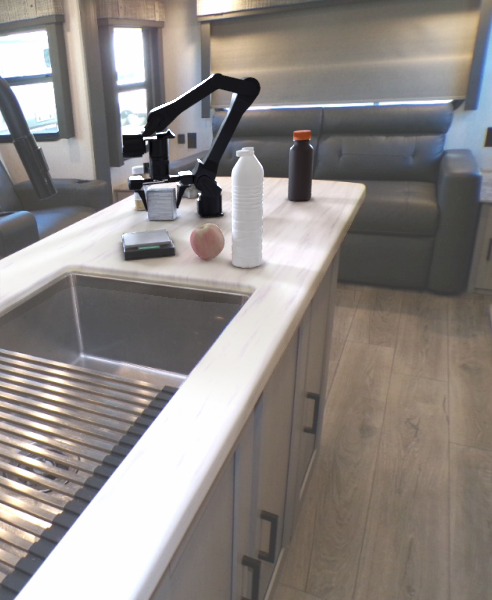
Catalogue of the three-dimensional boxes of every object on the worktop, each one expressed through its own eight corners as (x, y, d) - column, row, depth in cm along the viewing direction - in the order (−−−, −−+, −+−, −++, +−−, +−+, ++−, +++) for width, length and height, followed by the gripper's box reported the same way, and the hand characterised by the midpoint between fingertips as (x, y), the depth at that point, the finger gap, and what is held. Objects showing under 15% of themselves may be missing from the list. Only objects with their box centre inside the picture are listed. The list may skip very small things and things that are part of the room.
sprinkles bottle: (142, 206, 175) (139, 164, 170) (152, 208, 172) (149, 165, 166) (132, 209, 172) (128, 167, 167) (141, 211, 169) (138, 168, 164)
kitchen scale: (167, 238, 141) (167, 228, 140) (175, 255, 128) (174, 244, 127) (122, 242, 141) (121, 233, 140) (124, 260, 128) (124, 249, 127)
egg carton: (191, 199, 178) (191, 186, 176) (175, 196, 184) (175, 184, 182) (213, 192, 184) (213, 180, 182) (197, 189, 189) (196, 178, 188)
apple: (202, 250, 129) (201, 218, 126) (230, 255, 125) (230, 221, 121) (184, 260, 124) (182, 227, 121) (213, 265, 119) (212, 231, 116)
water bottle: (235, 257, 123) (235, 145, 113) (264, 259, 120) (267, 144, 110) (225, 270, 116) (224, 152, 106) (256, 273, 113) (258, 151, 103)
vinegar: (313, 196, 166) (317, 129, 158) (307, 202, 161) (311, 132, 153) (291, 195, 169) (293, 129, 161) (285, 201, 164) (287, 133, 156)
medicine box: (177, 216, 160) (176, 187, 156) (174, 220, 156) (172, 190, 152) (151, 216, 162) (149, 188, 159) (147, 220, 159) (145, 191, 155)
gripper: (187, 148, 159) (189, 200, 165) (124, 154, 159) (129, 206, 166) (193, 154, 149) (195, 209, 155) (126, 160, 149) (131, 215, 155)
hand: (162, 209), depth 158 cm, fingers closed on medicine box, 9 cm apart
